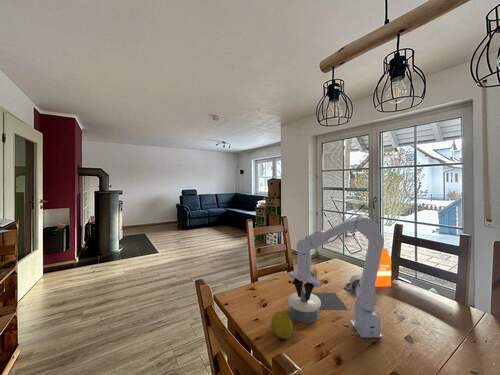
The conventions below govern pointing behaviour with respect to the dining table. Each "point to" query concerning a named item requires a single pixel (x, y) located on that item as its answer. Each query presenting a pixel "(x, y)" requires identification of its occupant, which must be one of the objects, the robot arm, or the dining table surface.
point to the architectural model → (314, 273)
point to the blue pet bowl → (303, 315)
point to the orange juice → (384, 270)
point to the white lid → (304, 302)
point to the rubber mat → (330, 301)
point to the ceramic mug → (353, 283)
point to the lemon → (282, 325)
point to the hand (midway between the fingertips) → (303, 298)
